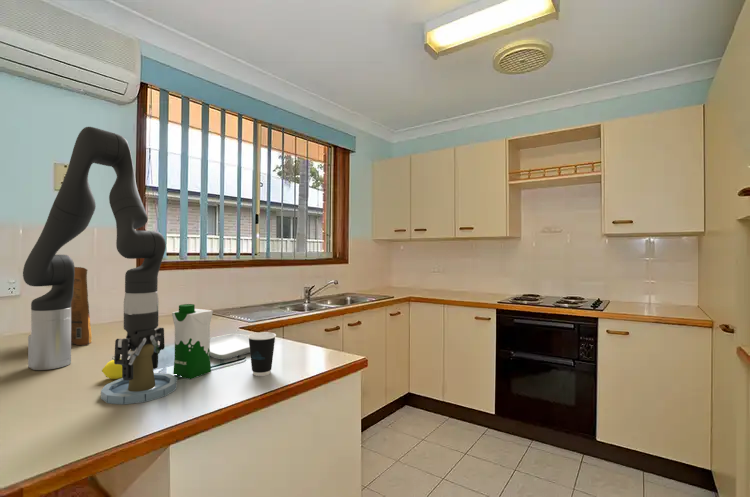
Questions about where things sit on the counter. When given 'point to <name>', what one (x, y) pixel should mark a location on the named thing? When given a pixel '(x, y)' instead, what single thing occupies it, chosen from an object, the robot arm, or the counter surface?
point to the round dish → (121, 395)
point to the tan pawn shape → (143, 370)
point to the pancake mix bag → (80, 309)
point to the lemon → (112, 370)
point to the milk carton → (192, 341)
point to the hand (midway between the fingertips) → (141, 373)
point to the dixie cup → (261, 352)
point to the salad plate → (229, 346)
